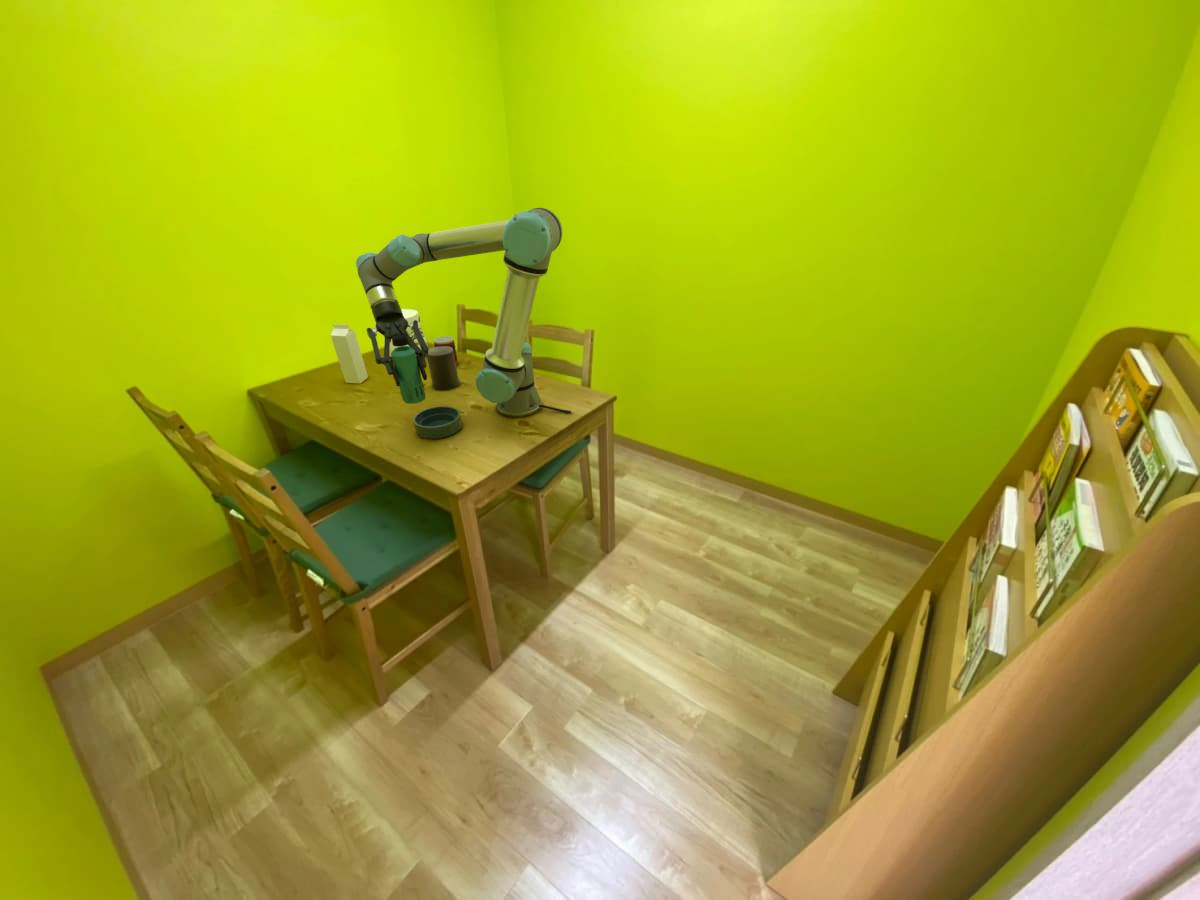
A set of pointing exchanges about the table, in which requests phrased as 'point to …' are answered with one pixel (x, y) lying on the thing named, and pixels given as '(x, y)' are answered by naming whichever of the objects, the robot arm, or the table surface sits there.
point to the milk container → (410, 317)
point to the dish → (437, 422)
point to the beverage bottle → (407, 371)
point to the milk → (348, 354)
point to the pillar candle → (442, 368)
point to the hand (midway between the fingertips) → (411, 381)
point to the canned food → (446, 344)
